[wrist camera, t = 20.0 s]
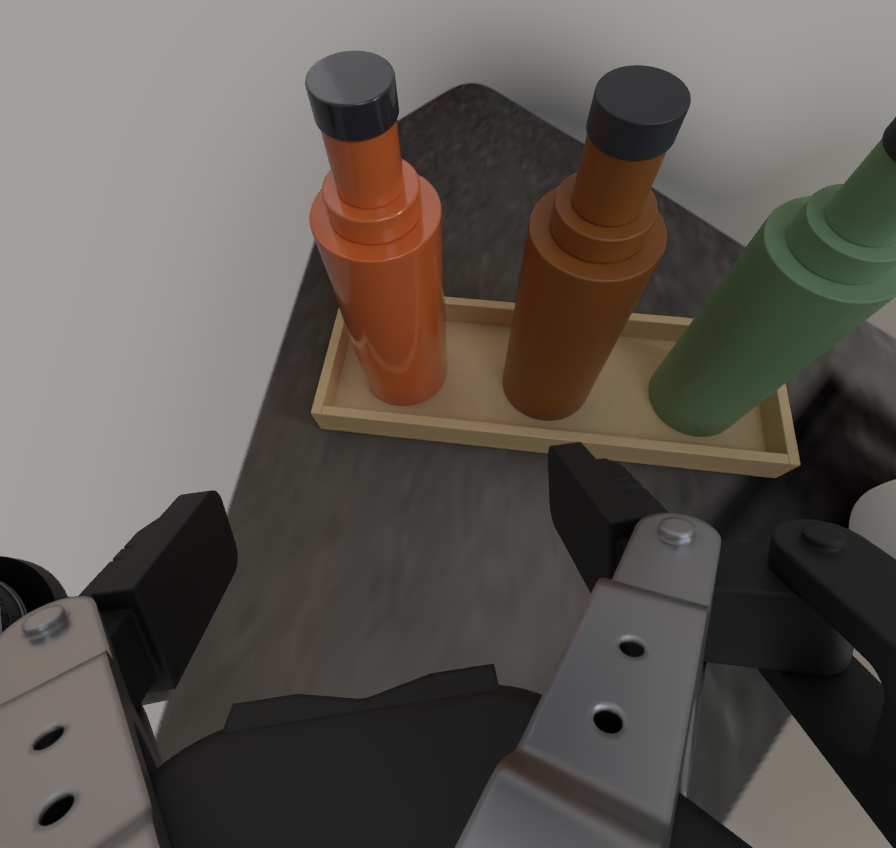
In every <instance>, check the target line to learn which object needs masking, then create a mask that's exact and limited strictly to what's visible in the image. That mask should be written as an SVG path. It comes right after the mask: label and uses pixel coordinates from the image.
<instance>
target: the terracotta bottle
mask: <svg viewBox="0 0 896 848" xmlns="http://www.w3.org/2000/svg"><path fill="white" fill-rule="evenodd" d="M305 86H306V90H307V94H308V97H309V101H310V104H311V108H312V112H313V115H314V119H315V122H316V124H317V126H318V128H319V129H320V130H321V133H322V137H323V141H324V144H325V148H326V151H327V156H328V159H329V163H330V167H331V170H330V171H329V173H328V174H327V175H326V177H325V179H324V182H323V185H322V189H321V191H320V192H319V193H318V194H317V196H316V197H315V199H314V201H313V204H312V206H311V210H310V217H309V219H310V227H311V230H312V233H313V236H314V239H315V242H316V244H317V247H318V250H319V253H320V256H321V259H322V261H323V264H324V267H325V270H326V273H327V275H328V278H329V281H330V284H331V287H332V289H333V292H334V295H335V298H336V301H337V303H338V306H339V309H340V312H341V315H342V317H343V320H344V323H345V326H346V329H347V331H348V334H349V337H350V340H351V343H352V345H353V348H354V351H355V354H356V357H357V359H358V362H359V365H360V368H361V371H362V373H363V376H364V379H365V382H366V384H367V386H368V388H369V389H370V391H371V392H372V393H373V394H374V395H375V396H376V397H377V398H379V399H380V400H382V401H384V402H386V403H389V404H392V405H396V406H411V405H416V404H420V403H422V402H425V401H426V400H428V399H430V398H431V397H433V396H434V395H435V394H436V393H437V392H438V391H439V390H440V389H441V387H442V386H443V384H444V382H445V380H446V377H447V372H448V362H447V336H446V309H445V283H444V256H443V230H442V206H441V201H440V198H439V196H438V194H437V192H436V190H435V189H434V187H433V186H432V185H431V184H430V183H429V182H428V181H427V180H426V179H424V178H423V177H421V176H420V175H418V174H417V173H416V171H415V169H414V168H413V167H412V166H411V165H410V164H409V163H408V162H406V161H405V160H403V159H402V158H401V149H400V141H399V132H398V124H397V117H398V114H399V106H398V97H397V89H396V79H395V72H394V70H393V68H392V66H391V64H390V63H389V62H388V61H387V60H386V59H384V58H382V57H381V56H379V55H376V54H373V53H370V52H365V51H345V52H339V53H335V54H333V55H329V56H327V57H325V58H323V59H321V60H319V61H318V62H317V63H315V65H313V66H312V67H311V68H310V70H309V71H308V73H307V76H306V81H305Z"/></svg>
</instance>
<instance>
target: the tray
mask: <svg viewBox="0 0 896 848" xmlns="http://www.w3.org/2000/svg"><path fill="white" fill-rule="evenodd" d="M514 307H515V303H511V302H500V301H489V300H477V299H466V298H454V297H445V309H446V336H447V362H448V372H447V377H446V380H445V382H444V384H443V386H442V387H441V389H440V390H439V391H438V392H437V393H436V394H435V395H434V396H433V397H431V398H430V399H428V400H426V401H425V402H422V403H420V404H416V405H411V406H396V405H392V404H389V403H386V402H384V401H382V400H380V399H379V398H377V397H376V396H375V395H374V394H373V393H372V392H371V391H370V389H369V388H368V386H367V384H366V382H365V379H364V376H363V373H362V371H361V368H360V365H359V362H358V359H357V357H356V354H355V351H354V348H353V345H352V343H351V340H350V337H349V334H348V331H347V329H346V326H345V323H344V320H343V317H342V315H341V312H340V309H338V313H337V317H336V320H335V324H334V328H333V332H332V335H331V339H330V343H329V347H328V350H327V354H326V358H325V362H324V365H323V369H322V373H321V376H320V380H319V384H318V388H317V391H316V395H315V399H314V403H313V406H312V410H311V414H312V416H313V417H314V419H315V421H316V422H317V424H318V425H319V427H320V428H321V429H327V430H336V431H345V432H354V433H363V434H373V435H382V436H391V437H400V438H410V439H419V440H428V441H437V442H446V443H456V444H465V445H474V446H483V447H492V448H502V449H511V450H520V451H529V452H539V453H548V450H549V447H550V446H553V445H560V444H568V443H575V442H581V443H582V444H583V445H584V446H585V447H586V448H587V449H588V450H589V451H590V453H591V454H592V455H593V456H594V457H595V458H596V459H602V458H606V459H608V460H612V461H622V462H631V463H640V464H649V465H658V466H668V467H677V468H686V469H695V470H704V471H714V472H723V473H732V474H741V475H751V476H760V477H769V478H777V477H779V476H780V475H783V474H784V473H786V472H788V471H790V470H792V469H794V468H796V467H798V466H800V459H799V454H798V448H797V443H796V437H795V432H794V427H793V421H792V416H791V410H790V405H789V400H788V394H787V389H786V383H785V384H784V385H783V386H782V387H780V388H779V389H778V390H776V391H775V392H774V393H773V394H771V395H770V396H769V397H768V398H766V399H765V400H764V401H762V402H761V403H760V404H759V405H757V406H756V407H755V408H754V409H752V410H751V411H750V412H749V413H747V414H746V415H745V416H743V417H742V418H741V419H740V420H738V421H737V422H736V423H735V424H733V425H732V426H731V427H729V428H728V429H727V430H725V431H724V432H722V433H720V434H717V435H714V436H709V437H695V436H690V435H686V434H683V433H681V432H678V431H676V430H674V429H673V428H671V427H670V426H668V425H667V424H666V423H665V422H663V421H662V420H661V419H660V417H659V416H658V415H657V414H656V412H655V411H654V409H653V407H652V405H651V402H650V398H649V383H650V380H651V377H652V376H653V374H654V372H655V371H656V370H657V368H658V367H659V366H660V364H661V363H662V362H663V360H664V359H665V357H666V356H667V355H668V353H669V352H670V351H671V349H672V348H673V346H674V345H675V344H676V342H677V341H678V340H679V338H680V337H681V336H682V334H683V333H684V331H685V330H686V329H687V327H688V326H689V325H690V323H691V322H692V320H693V319H694V318H683V317H671V316H660V315H648V314H637V313H632V314H631V316H630V317H629V319H628V321H627V323H626V325H625V327H624V329H623V331H622V333H621V334H620V336H619V338H618V340H617V342H616V344H615V346H614V348H613V350H612V351H611V353H610V355H609V357H608V359H607V361H606V363H605V365H604V367H603V368H602V370H601V372H600V374H599V376H598V378H597V380H596V382H595V384H594V385H593V387H592V389H591V391H590V393H589V395H588V397H587V399H586V401H585V402H584V404H583V405H582V407H581V408H580V409H579V410H578V411H576V412H575V413H574V414H572V415H571V416H569V417H566V418H563V419H560V420H554V421H543V420H537V419H534V418H531V417H528V416H526V415H524V414H523V413H521V412H520V411H518V410H517V409H516V408H515V407H514V406H513V405H512V404H511V403H510V401H509V400H508V398H507V396H506V394H505V392H504V388H503V372H504V366H505V360H506V354H507V348H508V343H509V337H510V331H511V325H512V319H513V313H514Z"/></svg>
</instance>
